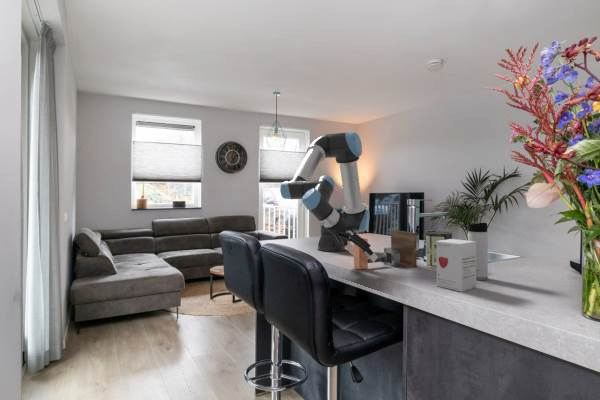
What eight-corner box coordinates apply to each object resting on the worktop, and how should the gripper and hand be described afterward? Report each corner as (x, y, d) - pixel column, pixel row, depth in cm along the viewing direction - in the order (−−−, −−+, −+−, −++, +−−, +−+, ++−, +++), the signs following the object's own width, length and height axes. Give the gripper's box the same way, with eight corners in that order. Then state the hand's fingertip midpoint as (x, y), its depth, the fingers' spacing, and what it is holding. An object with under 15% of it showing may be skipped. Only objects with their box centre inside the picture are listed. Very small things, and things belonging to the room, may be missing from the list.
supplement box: (435, 286, 117) (435, 240, 117) (451, 282, 123) (450, 238, 123) (461, 292, 110) (461, 243, 110) (477, 287, 115) (477, 240, 115)
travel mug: (476, 281, 124) (475, 223, 123) (464, 276, 130) (464, 221, 130) (492, 280, 125) (492, 222, 124) (480, 276, 131) (479, 221, 131)
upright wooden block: (359, 269, 144) (359, 239, 144) (354, 267, 148) (353, 238, 147) (387, 266, 149) (387, 237, 149) (381, 264, 153) (381, 236, 153)
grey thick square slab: (394, 267, 149) (394, 250, 149) (384, 264, 155) (383, 248, 155) (400, 266, 150) (399, 249, 150) (389, 263, 156) (389, 247, 156)
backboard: (407, 267, 147) (406, 233, 147) (385, 262, 160) (385, 230, 160) (416, 266, 149) (416, 233, 149) (394, 261, 162) (394, 230, 162)
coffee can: (446, 263, 155) (446, 231, 154) (456, 268, 144) (456, 233, 144) (422, 264, 155) (422, 231, 155) (430, 269, 144) (430, 234, 144)
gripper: (313, 226, 152) (344, 259, 158) (343, 231, 129) (378, 269, 135) (324, 213, 154) (354, 246, 160) (356, 216, 131) (390, 254, 137)
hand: (365, 256), depth 147 cm, fingers open, 13 cm apart
